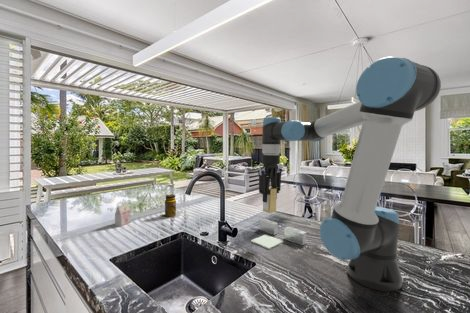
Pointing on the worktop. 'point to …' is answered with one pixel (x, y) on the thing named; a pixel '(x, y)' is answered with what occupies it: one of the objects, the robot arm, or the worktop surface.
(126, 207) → the milk carton
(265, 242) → the sage pad
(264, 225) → the rack rail
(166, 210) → the condiment
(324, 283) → the worktop surface
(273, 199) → the brass block
